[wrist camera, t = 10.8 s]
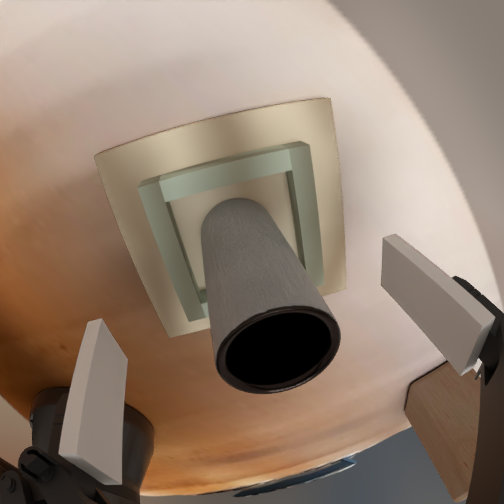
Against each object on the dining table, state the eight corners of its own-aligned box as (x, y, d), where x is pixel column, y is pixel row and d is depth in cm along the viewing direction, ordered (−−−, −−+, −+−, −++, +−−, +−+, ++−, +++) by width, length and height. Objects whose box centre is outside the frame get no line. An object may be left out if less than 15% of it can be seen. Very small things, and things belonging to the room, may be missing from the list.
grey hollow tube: (199, 264, 20) (214, 399, 11) (202, 195, 18) (218, 308, 9) (268, 264, 21) (323, 388, 12) (277, 198, 19) (357, 302, 10)
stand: (169, 329, 23) (169, 352, 21) (98, 153, 16) (85, 161, 14) (341, 281, 24) (354, 299, 22) (323, 97, 17) (341, 99, 15)
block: (407, 382, 36) (474, 494, 18) (461, 349, 36) (532, 445, 18) (402, 412, 41) (453, 506, 23) (450, 383, 41) (505, 467, 23)
